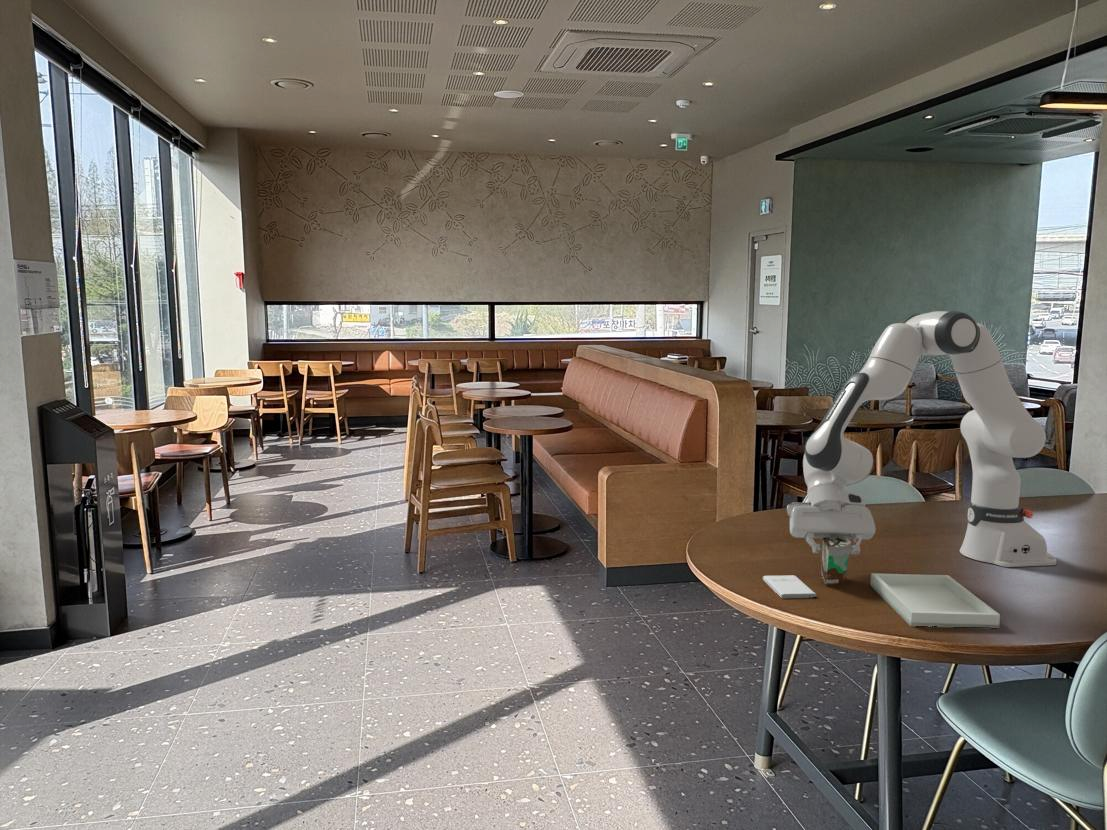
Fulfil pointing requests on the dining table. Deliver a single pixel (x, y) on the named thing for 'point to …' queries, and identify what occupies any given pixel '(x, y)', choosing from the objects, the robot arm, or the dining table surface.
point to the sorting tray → (933, 601)
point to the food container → (835, 559)
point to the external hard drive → (789, 586)
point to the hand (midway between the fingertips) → (836, 552)
